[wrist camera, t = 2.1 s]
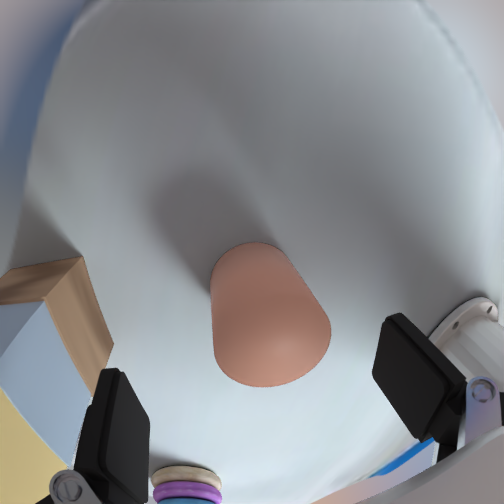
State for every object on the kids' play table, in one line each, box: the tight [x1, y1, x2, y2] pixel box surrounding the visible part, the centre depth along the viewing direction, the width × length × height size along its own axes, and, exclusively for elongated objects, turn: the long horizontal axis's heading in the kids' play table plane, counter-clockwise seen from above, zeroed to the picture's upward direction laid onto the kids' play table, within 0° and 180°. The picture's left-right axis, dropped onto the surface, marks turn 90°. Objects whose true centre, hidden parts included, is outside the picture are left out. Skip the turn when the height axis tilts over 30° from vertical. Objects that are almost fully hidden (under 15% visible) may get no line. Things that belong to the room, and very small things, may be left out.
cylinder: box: [210, 242, 331, 387], centre depth 14 cm, size 5×5×6 cm
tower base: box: [0, 256, 114, 397], centre depth 14 cm, size 6×6×5 cm
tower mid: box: [0, 301, 91, 467], centre depth 9 cm, size 6×6×5 cm
